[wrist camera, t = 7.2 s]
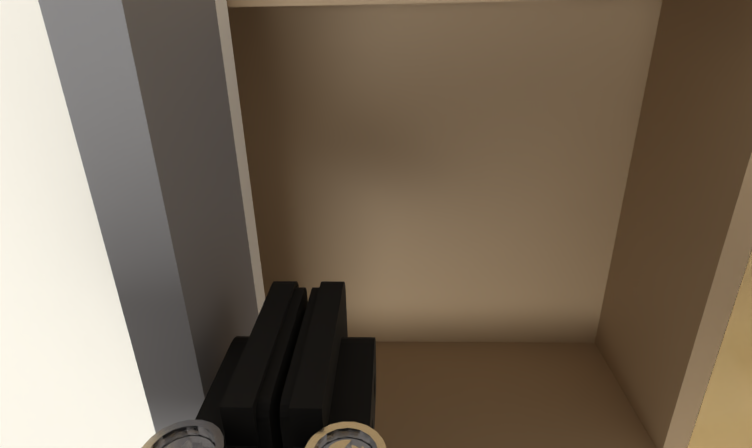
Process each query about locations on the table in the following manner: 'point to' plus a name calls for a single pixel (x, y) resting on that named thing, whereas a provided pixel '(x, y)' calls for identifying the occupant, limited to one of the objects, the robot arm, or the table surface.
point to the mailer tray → (510, 203)
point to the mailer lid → (119, 218)
